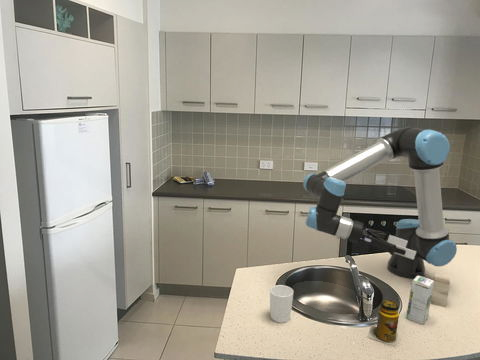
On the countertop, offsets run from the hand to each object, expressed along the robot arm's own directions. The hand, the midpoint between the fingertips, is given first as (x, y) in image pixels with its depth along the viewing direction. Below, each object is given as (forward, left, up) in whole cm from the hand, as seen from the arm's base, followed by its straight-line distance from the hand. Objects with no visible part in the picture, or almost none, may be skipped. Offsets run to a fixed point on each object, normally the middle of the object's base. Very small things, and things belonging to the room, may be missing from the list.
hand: (410, 249), depth 135 cm
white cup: (+24, -38, -24) cm, 51 cm away
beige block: (-12, +12, -24) cm, 29 cm away
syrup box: (+3, +5, -24) cm, 24 cm away
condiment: (+19, -5, -24) cm, 31 cm away
